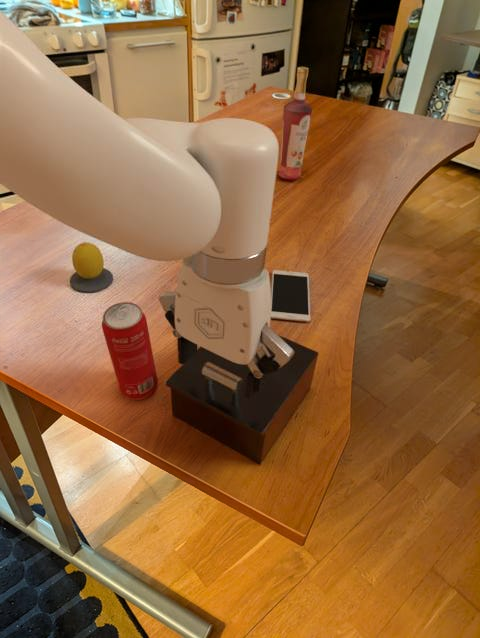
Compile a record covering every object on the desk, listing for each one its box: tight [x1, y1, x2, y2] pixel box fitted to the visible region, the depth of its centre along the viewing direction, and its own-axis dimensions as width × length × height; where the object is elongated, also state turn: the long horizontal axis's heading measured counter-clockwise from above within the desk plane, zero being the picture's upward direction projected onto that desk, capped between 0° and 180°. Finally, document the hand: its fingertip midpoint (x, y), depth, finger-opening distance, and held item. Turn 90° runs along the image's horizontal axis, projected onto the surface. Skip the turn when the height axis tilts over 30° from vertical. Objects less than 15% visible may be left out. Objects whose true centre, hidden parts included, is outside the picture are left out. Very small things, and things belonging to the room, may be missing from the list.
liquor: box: [277, 66, 313, 182], centre depth 121 cm, size 7×7×28 cm
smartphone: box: [270, 269, 312, 323], centre depth 88 cm, size 8×1×15 cm
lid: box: [165, 334, 320, 437], centre depth 62 cm, size 16×15×5 cm
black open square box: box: [170, 356, 319, 466], centre depth 66 cm, size 16×15×7 cm
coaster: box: [69, 267, 114, 294], centre depth 89 cm, size 8×8×1 cm
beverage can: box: [101, 301, 158, 401], centre depth 65 cm, size 6×6×15 cm
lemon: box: [71, 241, 105, 279], centre depth 86 cm, size 6×6×8 cm
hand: (219, 373), depth 56 cm, fingers open, 9 cm apart
